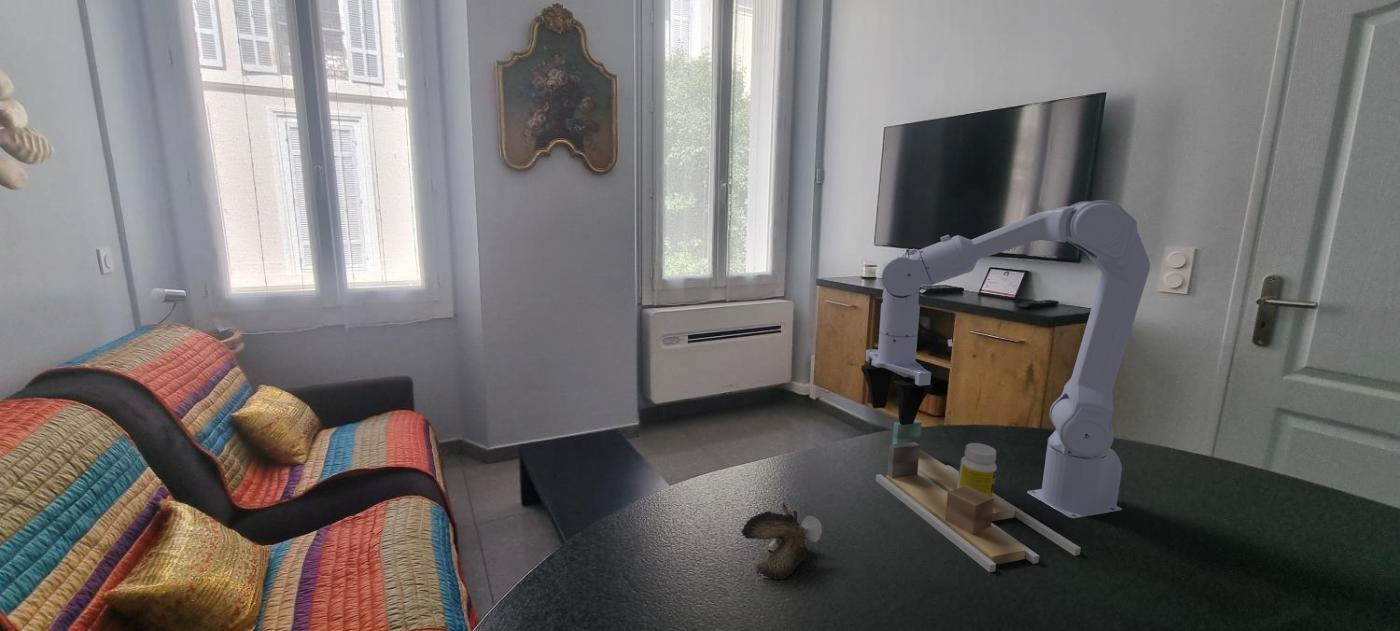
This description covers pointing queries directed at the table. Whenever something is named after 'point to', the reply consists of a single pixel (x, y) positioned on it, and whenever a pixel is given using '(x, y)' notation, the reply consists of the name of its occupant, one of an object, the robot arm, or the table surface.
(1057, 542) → the lane board
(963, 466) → the supplement bottle
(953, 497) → the walnut cube
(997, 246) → the robot arm
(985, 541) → the gray handled wooden slider
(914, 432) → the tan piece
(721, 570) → the table surface
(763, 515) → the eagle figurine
